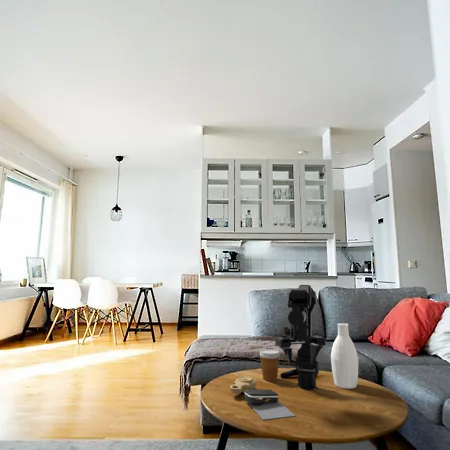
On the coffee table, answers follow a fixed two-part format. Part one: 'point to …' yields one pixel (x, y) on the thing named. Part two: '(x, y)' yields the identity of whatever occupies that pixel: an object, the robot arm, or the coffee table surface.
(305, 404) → the coffee table surface
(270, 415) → the mat
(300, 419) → the coffee table surface
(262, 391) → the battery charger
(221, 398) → the coffee table surface
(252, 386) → the oil lamp
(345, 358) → the bottle
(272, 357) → the disposable coffee cup
